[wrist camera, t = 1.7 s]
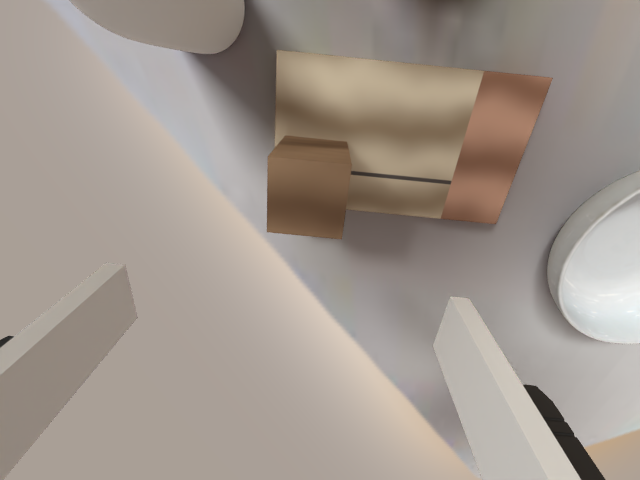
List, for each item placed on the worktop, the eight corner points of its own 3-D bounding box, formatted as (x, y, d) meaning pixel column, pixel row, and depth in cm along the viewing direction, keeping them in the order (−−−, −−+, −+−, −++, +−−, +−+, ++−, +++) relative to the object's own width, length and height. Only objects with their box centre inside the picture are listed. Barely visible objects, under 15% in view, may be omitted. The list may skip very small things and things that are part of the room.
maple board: (281, 51, 29) (276, 49, 27) (536, 77, 29) (552, 77, 27) (277, 194, 35) (273, 202, 33) (485, 214, 36) (495, 224, 33)
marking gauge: (287, 132, 32) (267, 156, 22) (346, 138, 32) (351, 164, 22) (284, 207, 35) (266, 255, 26) (337, 212, 35) (338, 262, 26)
